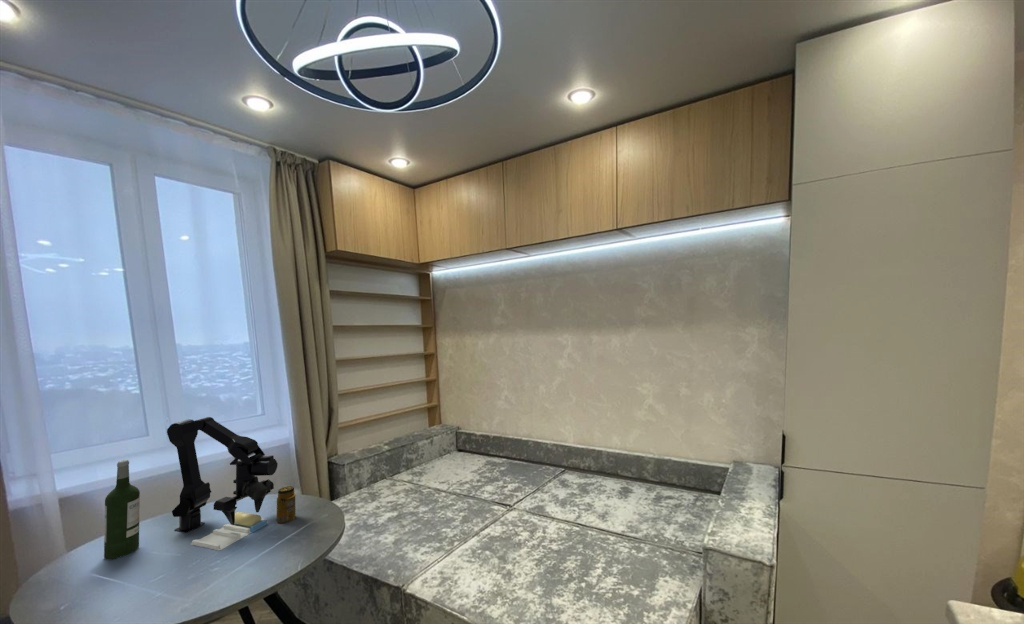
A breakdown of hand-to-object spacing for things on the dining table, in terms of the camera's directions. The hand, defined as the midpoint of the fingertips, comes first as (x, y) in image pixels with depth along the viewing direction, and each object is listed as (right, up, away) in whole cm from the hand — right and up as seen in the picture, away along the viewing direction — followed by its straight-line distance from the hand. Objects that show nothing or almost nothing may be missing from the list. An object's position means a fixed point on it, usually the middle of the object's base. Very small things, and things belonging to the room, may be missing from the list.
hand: (245, 518), depth 134 cm
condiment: (+14, -3, +2) cm, 14 cm away
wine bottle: (-31, -4, -14) cm, 34 cm away
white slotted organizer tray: (-1, -3, -5) cm, 6 cm away
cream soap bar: (0, -3, 0) cm, 3 cm away
